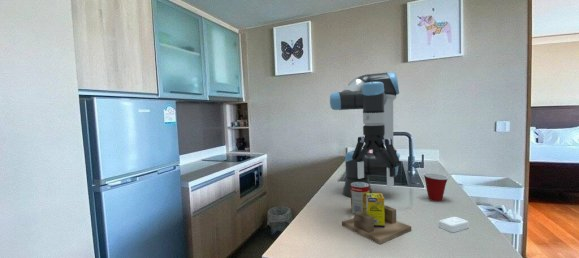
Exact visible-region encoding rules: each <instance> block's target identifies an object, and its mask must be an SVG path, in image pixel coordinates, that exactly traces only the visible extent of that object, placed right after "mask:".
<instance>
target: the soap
mask: <svg viewBox="0 0 579 258" xmlns="http://www.w3.org/2000/svg"><path fill="white" fill-rule="evenodd" d="M438 228H439V229H443V230H444V231H447V232H449V233H455V232H459V231H462V230H468V229H469V221H468V220H467V219H463V218H460V217H458V216H450V217H447V218H443V219H440V220H439V221H438Z"/></svg>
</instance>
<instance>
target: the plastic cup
mask: <svg viewBox="0 0 579 258" xmlns="http://www.w3.org/2000/svg"><path fill="white" fill-rule="evenodd" d="M423 176H424V182H425V186H426V191H427V197H428V199H429V200H430V201H434V202H442V201H443V200H444V199H443V198H444V194H445V190H446V185H447V182H448V180H449V179H450V178H449V176H448V175H444V174H440V173H436V172H435V173H433V172H425V173H423Z"/></svg>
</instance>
